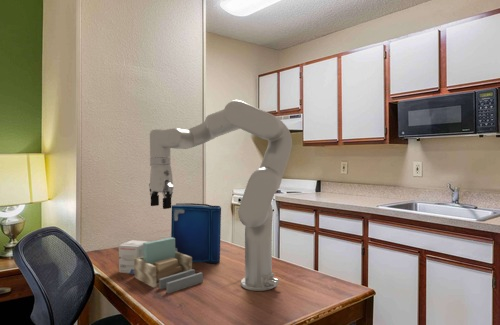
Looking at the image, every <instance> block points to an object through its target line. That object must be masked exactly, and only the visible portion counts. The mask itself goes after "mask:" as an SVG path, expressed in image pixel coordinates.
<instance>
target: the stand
mask: <svg viewBox="0 0 500 325" xmlns="http://www.w3.org/2000/svg"><path fill="white" fill-rule="evenodd" d="M200 283H201V284H202V283H204V273H203V272H201V271H200V272H198V273H196V270H195V269H194V268H192V269H191V270H188V271H185V272H181V273H178V274H174V275H171V276H168V277H164V278H161V279H159V286H158V289H159V290H164V289H166V290H165V292H166V293H167V294H168V295H169V294H171V293H174V292H177V291H180V290H184V289H186V288H190V287H192V286H193V287H194V286H195V285H198V284H200Z"/></svg>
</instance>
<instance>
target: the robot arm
mask: <svg viewBox="0 0 500 325" xmlns="http://www.w3.org/2000/svg"><path fill="white" fill-rule="evenodd" d="M238 130H243V131H245V132H247V133H249V134H251V135H253V136H256V137H258V138H260V139H262V140H266V141H267V146H266V147H267V148H266V150H265V151H264V155H263V158H262V161H261V163H260V166H259V168H257V169H255V170H254V171H253V172H252V173H251V175H250V176H249V179H248V180H247V183H246V186H245V190H244V192H243V195H242V198H241V201H240V204H239V207H238V212H237V214H238V215H237V216H238V218H239V221H240V222H241V224H242V225H243V226H244V277H243V278H241V280H240V285H241V287H242V288H244V289H245V290H249V291H255V292H256V291H257V292H264V291H265V292H266V291H269V290H271V289H273V288H277V287H278V284H280V279H279V278H275V273H274V272H273V271H272V270H273V269H272V268H273V267H272V266H273V263H272V262H273V260H272V257H273V256H272V254H273V253H272V252H273V250H272V247H273V246H272V244H273V243H272V241H273V240H272V238H273V236H272V234H273V231H272V230H273V215H274V214H273V213H274V210H273V205H272V202H273V199H274V196H275V194H276V192H277V191H278V190H279V188H280V186H281V183H282V179H283V177H284V173H285V172H286V168H287V164H288V162H289V159H290V156H291V152H292V148H293V140H292V139H293V138H292V134H291V131H290V130H289V128H288V127H287V125H286V124H285V123H284V122H283V121H282V120H281V119H280V118H279V117H277V116H275V115H274V114H272V113H269V112H267V111H265V110H263V109H260V108H258V107H257V106H253V105H251V104H249V103H247V102H244V101H242V100H239V99H235V100H231V101H229V102H227V104H226V105H225V106H224V109H221V110H219V111H215V112H214V113H210V114H208V115H207V116H206V117H205V119H204V121H203V122H201V123H200V124H198V125H195V126H193V127H190V128H188V129H185V128H177V127H174V128H168V129H160V128H159V129H157V128H156V129H152V130H151V131H150V132H149V166H150V176H149V184H148V187H149V196H150V207H158V206H159V205H160V195H159V193H161V195H162V197H163V198H162V209H163V210H167V209H168V210H169V209H172V197H173V193H174V192H173V190H174V182H173V171H172V166H171V149H175V150H176V149H177V150H178V149H181V150H182V149H183V150H188V149H192V148H194V147H197V146H201V145H204V144H205V143H207V142H210V141H211V140H212V141H213V140H214V139H216V138H218V137H221V136H223V135H227V134H229V133H232V132H234V131H238Z"/></svg>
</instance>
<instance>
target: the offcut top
mask: <svg viewBox="0 0 500 325" xmlns="http://www.w3.org/2000/svg"><path fill="white" fill-rule="evenodd" d="M153 265H154V266H156V272H158V273H161V272H164V271H167V270H171V269H174V268H177V267H178V259H175V258H172V257H171V258H168V259H164V260H161V261H157V262H153Z"/></svg>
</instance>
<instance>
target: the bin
mask: <svg viewBox="0 0 500 325" xmlns="http://www.w3.org/2000/svg"><path fill="white" fill-rule="evenodd" d="M175 259H178V265H179V266H181V267H182V272H185V271H188V270H191V269H193V262H192V257H190V256H188V255H185V254H182V253H179V252H177V251H175ZM134 278H135V279H136V280H138V281H141V282H142V283H143V284H146V285H148V286H150V287H152V288H153V289H154V288H158V287H159V283H156V266H154V265H152V264H150V263H148V262H145V261H144V257H139V258H134Z"/></svg>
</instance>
